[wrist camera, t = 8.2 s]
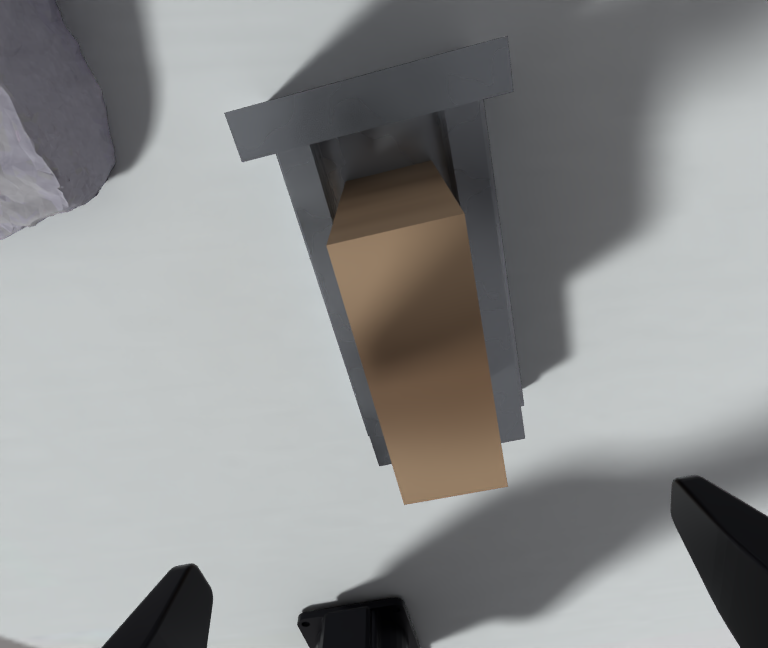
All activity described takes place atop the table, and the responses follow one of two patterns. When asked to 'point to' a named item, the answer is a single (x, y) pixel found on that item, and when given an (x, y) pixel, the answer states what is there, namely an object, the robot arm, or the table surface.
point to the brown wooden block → (419, 330)
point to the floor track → (388, 152)
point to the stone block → (47, 118)
